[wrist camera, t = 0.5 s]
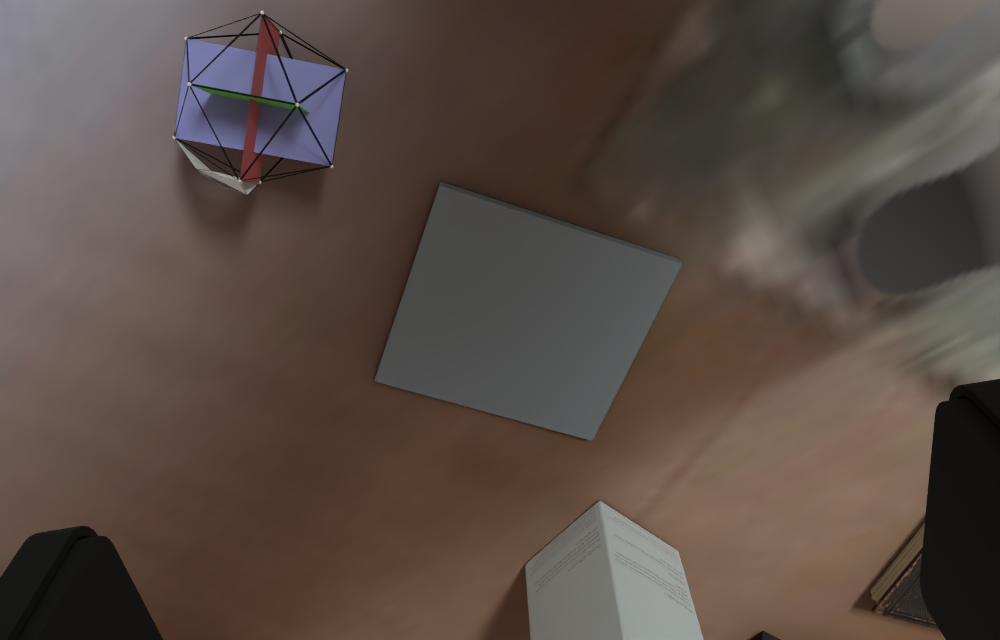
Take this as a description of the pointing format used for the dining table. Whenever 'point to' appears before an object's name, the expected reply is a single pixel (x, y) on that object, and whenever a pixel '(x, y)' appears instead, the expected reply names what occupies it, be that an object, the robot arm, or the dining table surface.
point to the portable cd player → (765, 636)
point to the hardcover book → (903, 586)
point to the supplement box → (609, 584)
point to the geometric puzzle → (257, 105)
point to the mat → (522, 313)
